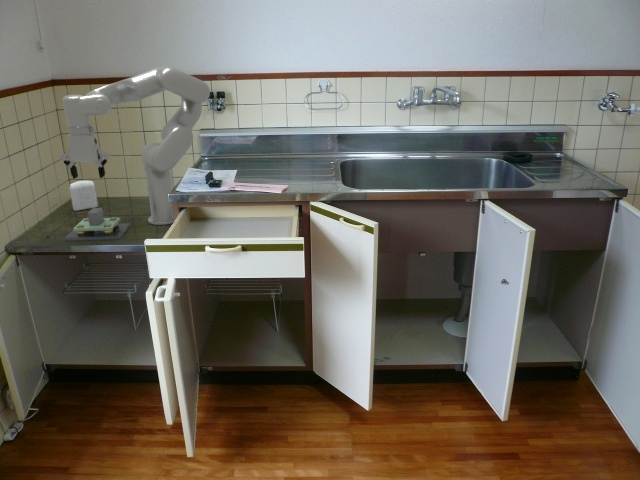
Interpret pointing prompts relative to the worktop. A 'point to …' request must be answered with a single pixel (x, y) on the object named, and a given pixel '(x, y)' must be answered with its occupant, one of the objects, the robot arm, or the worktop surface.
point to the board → (95, 228)
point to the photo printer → (83, 195)
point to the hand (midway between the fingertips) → (88, 177)
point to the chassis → (99, 233)
